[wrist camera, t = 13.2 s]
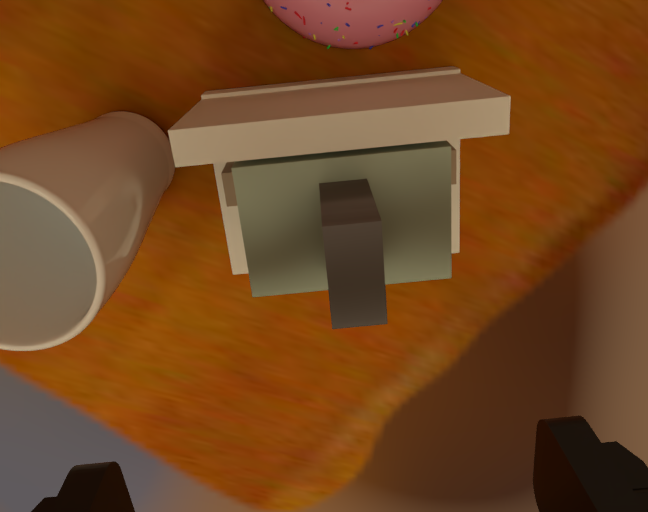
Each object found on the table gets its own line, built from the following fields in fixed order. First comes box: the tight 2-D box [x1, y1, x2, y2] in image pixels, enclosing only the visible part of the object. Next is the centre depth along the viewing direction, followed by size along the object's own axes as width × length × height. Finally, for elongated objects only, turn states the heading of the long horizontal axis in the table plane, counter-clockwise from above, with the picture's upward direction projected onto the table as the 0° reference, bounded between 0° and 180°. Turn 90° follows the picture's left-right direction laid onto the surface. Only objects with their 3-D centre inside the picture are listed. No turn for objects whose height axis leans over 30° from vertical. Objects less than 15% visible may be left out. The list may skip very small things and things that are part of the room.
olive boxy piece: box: [231, 141, 451, 329], centre depth 26 cm, size 6×9×13 cm, turn 95°
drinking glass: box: [0, 111, 175, 351], centre depth 26 cm, size 7×7×15 cm
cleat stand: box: [168, 66, 511, 275], centre depth 29 cm, size 10×14×10 cm
